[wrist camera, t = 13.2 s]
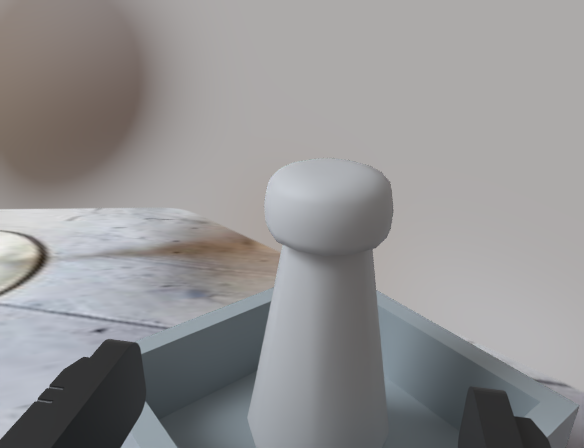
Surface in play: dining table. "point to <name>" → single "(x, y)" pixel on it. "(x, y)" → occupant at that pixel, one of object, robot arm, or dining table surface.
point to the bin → (397, 375)
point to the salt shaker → (323, 310)
